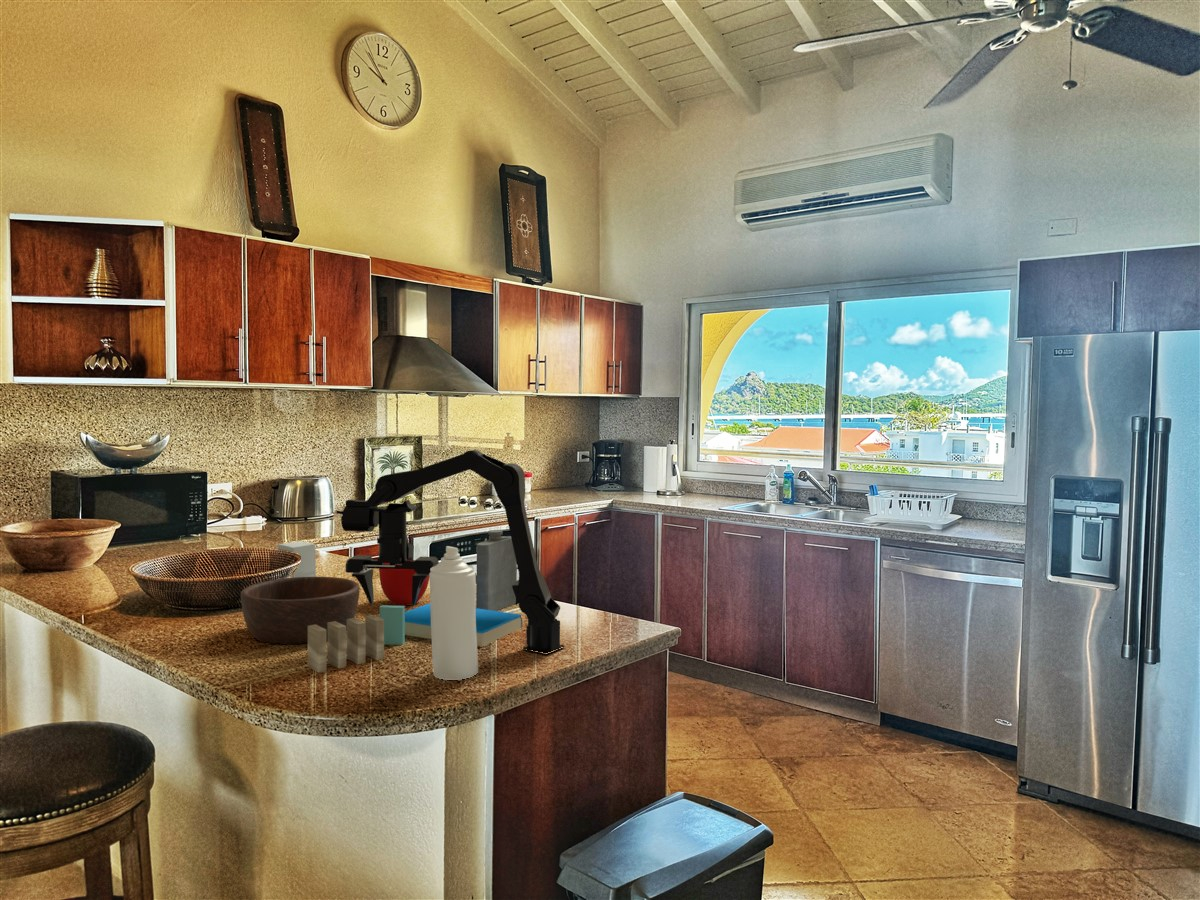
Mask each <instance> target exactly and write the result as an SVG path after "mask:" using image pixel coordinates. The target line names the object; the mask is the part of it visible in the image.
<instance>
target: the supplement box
mask: <svg viewBox="0 0 1200 900" xmlns="http://www.w3.org/2000/svg"><path fill="white" fill-rule="evenodd" d="M278 550H279V551H288V552H293V553H298V554H299V555H300V556H301V562H300V564H299V566H298V568H297V569H296V571H295V573H294V574H293V576H292V578H295V577H317V575H316V574H317V573H316V571H317V570H316V569H317V565H316V564H317V563H316V561H317V559H316V557H317V555H316V553H317V552H316V544H315V543H312V542H307V541H302V540H299V541H294V542H293V541H292V542H286V543H279V544H277V551H278Z"/></svg>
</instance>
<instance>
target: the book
mask: <svg viewBox="0 0 1200 900" xmlns="http://www.w3.org/2000/svg"><path fill="white" fill-rule="evenodd" d="M522 626H523V617H522V614H521V613H520V614H519V613H513V612H506V611H500V610H497V611H492V610H485V609H478V608H476V636H477V647H479V646H480V648H484V647H486V646H488V645H490V644H489V643H491V642H493V641H495V640H497V639H499V638H501V637H503V636H505V635H507V634H509V633H511V632H514V631H516V630H518V629H520V628H521V629H522ZM521 629H520V630H521ZM518 631H519V630H518ZM516 632H517V631H516ZM514 633H515V632H514ZM405 636H409V637H416V638H422V639H428V640H432V637H431V607H430V603H427V604H424V605H420V606H418V607H416V608H413V609H410V610H407V611H406V610H405ZM507 636H508V635H507ZM505 637H506V636H505ZM503 638H504V637H503ZM501 639H502V638H501ZM499 640H500V639H499ZM497 641H498V640H497ZM495 642H496V641H495ZM493 643H494V642H493ZM491 644H492V643H491ZM483 646H484V647H483Z"/></svg>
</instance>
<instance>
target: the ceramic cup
mask: <svg viewBox="0 0 1200 900" xmlns="http://www.w3.org/2000/svg"><path fill="white" fill-rule="evenodd" d="M415 560H416V559H412V560H410V561H415ZM384 564H385V565H386V564H387V565H388V564H389V563H384ZM389 565H390V564H389ZM396 565H397V564H396ZM378 572H379V573H378V574H379V582H380V586H381V590H382V592H383V594H384V595H385V598H387V599H388V601H390V603H391V605H394V604H395V605H394V606H410V605H409V604H412V576H413V575H414V574H416V572H415V571H414V569H378ZM429 584H430V580H429V576H428V577H427V578H425V580H424V582H423V584H422V586H421V589H420V592H419V595H418V598H417V601H416V604H418V603H419V601H420V600H421V598H423V596H424V595H425V593H426V591H427V588H428V586H429ZM417 602H418V603H417Z"/></svg>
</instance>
